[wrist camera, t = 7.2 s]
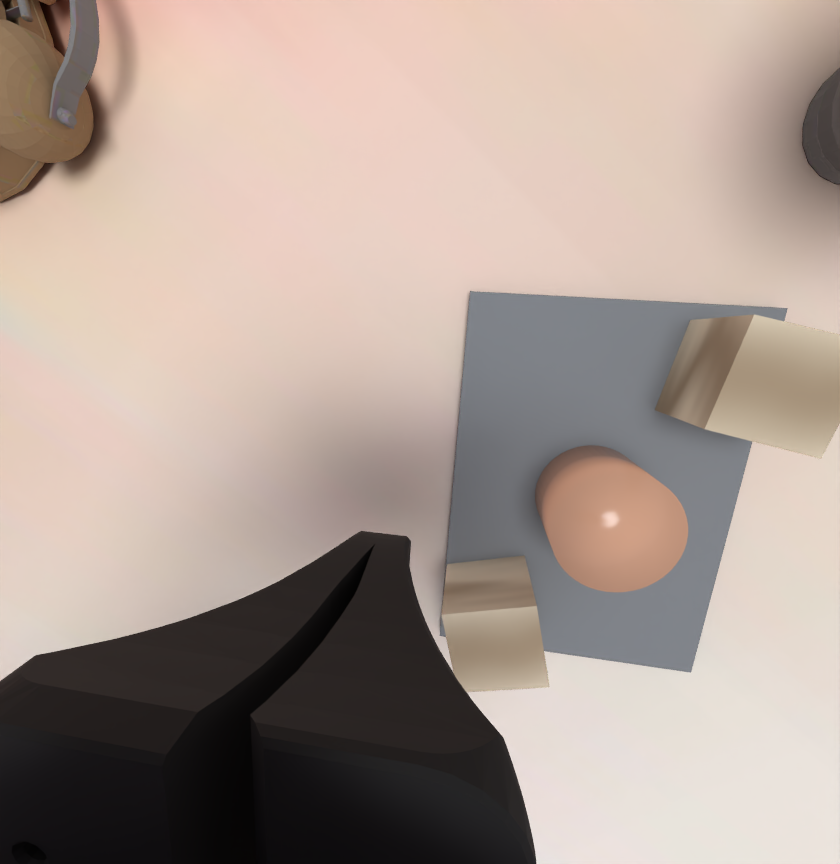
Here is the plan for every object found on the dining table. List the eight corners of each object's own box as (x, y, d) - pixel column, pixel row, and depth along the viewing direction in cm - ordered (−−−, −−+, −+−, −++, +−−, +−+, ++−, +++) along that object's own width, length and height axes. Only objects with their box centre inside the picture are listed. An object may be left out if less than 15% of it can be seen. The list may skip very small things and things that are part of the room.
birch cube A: (535, 623, 21) (549, 687, 17) (460, 629, 22) (457, 692, 18) (524, 555, 20) (536, 605, 17) (447, 564, 21) (441, 614, 17)
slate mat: (685, 663, 21) (690, 672, 21) (440, 628, 23) (439, 635, 22) (776, 309, 17) (787, 308, 16) (470, 292, 18) (470, 291, 18)
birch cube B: (745, 432, 18) (820, 459, 14) (654, 409, 18) (704, 429, 14) (786, 343, 17) (880, 344, 13) (690, 320, 17) (754, 314, 13)
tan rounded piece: (632, 549, 20) (672, 600, 16) (528, 536, 20) (542, 583, 16) (654, 451, 18) (702, 480, 15) (542, 440, 19) (560, 465, 15)
